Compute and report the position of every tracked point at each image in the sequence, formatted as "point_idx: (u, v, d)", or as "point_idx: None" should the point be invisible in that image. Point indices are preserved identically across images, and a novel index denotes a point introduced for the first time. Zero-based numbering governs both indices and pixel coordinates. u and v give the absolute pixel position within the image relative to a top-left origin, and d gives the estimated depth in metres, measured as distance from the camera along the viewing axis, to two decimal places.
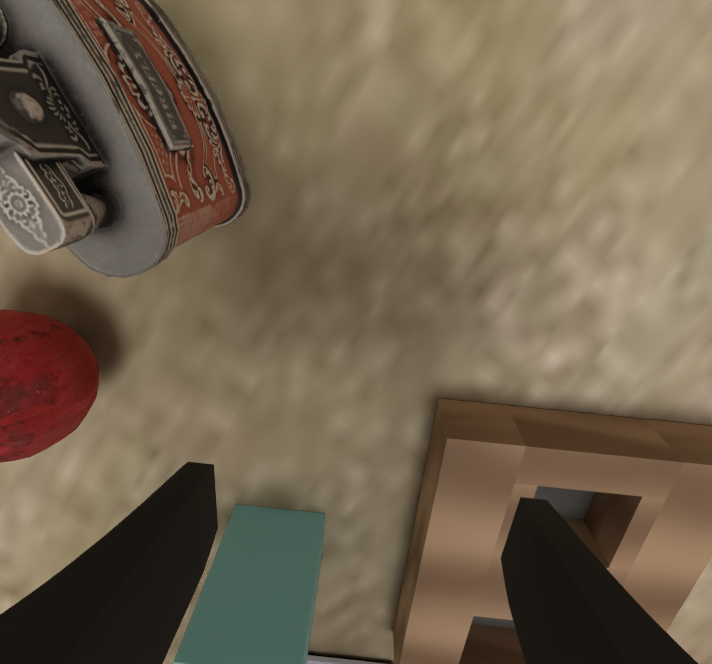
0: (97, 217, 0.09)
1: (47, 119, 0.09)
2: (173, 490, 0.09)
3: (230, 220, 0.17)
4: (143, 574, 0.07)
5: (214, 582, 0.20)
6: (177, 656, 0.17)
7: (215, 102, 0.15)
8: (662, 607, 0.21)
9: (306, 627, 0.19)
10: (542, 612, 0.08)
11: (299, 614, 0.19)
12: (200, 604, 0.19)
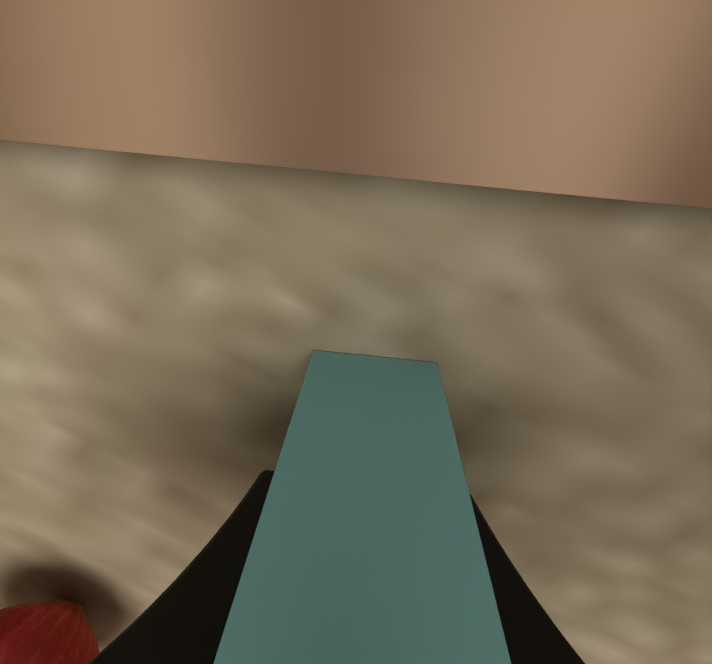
0: None
1: None
2: (260, 499, 0.09)
3: None
4: None
5: None
6: None
7: None
8: None
9: (256, 534, 0.07)
10: None
11: None
12: None
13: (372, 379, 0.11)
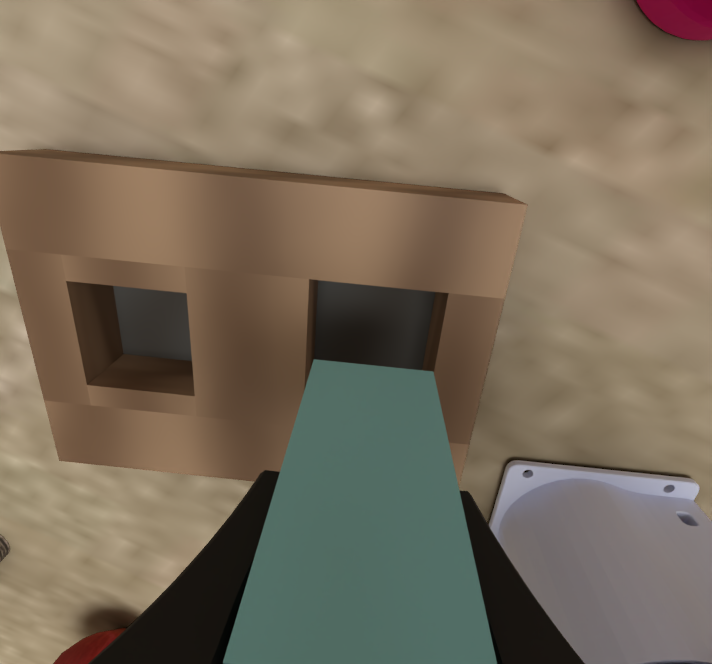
0: None
1: None
2: (260, 499, 0.09)
3: None
4: None
5: None
6: None
7: None
8: (248, 204, 0.15)
9: (260, 539, 0.07)
10: None
11: None
12: None
13: (370, 388, 0.11)
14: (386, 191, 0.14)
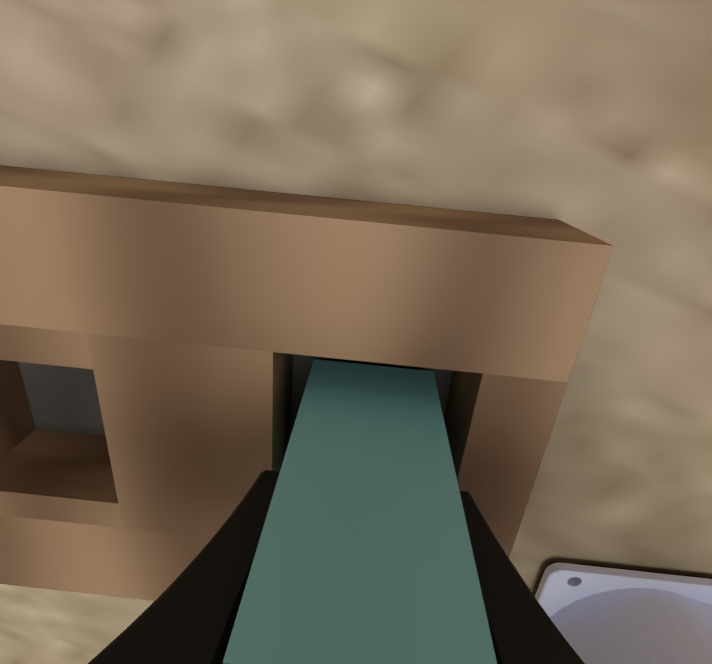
0: None
1: None
2: (260, 499, 0.09)
3: None
4: None
5: None
6: None
7: None
8: (175, 242, 0.09)
9: (260, 539, 0.07)
10: None
11: None
12: None
13: (370, 388, 0.11)
14: (389, 224, 0.09)
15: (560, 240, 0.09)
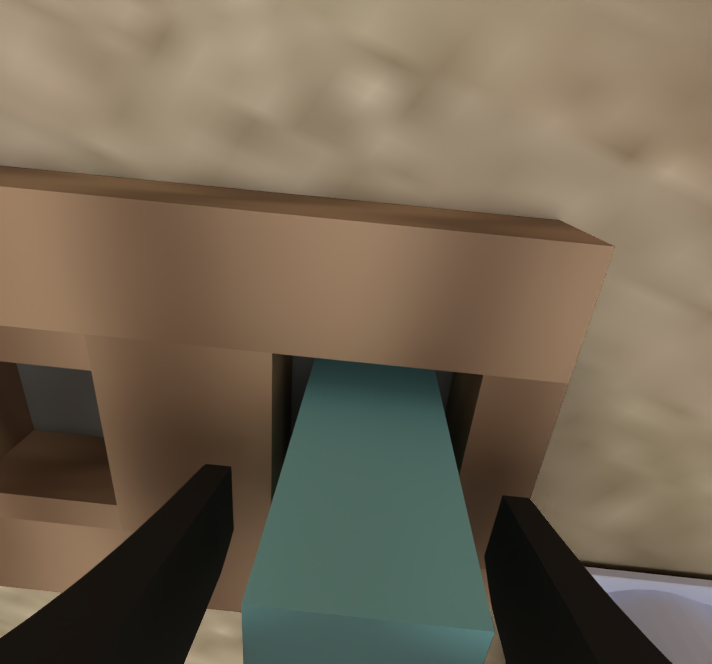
0: None
1: None
2: (193, 492, 0.09)
3: None
4: (167, 577, 0.07)
5: None
6: None
7: None
8: (173, 243, 0.09)
9: (272, 504, 0.08)
10: (521, 610, 0.08)
11: None
12: None
13: (372, 373, 0.12)
14: (389, 224, 0.09)
15: (561, 241, 0.09)
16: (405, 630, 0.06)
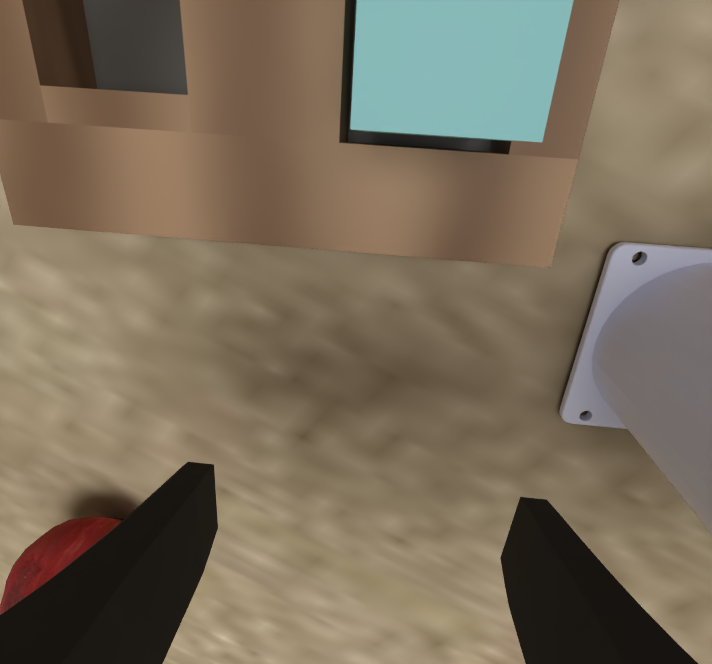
0: None
1: None
2: (173, 490, 0.09)
3: None
4: (143, 574, 0.07)
5: None
6: (351, 125, 0.08)
7: None
8: None
9: None
10: (542, 612, 0.08)
11: None
12: None
13: None
14: None
15: None
16: None
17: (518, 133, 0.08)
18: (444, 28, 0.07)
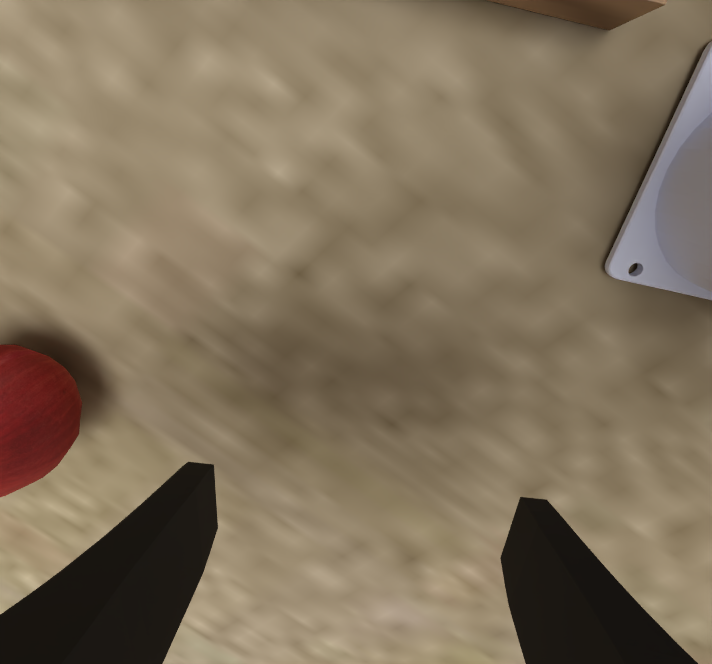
0: None
1: None
2: (173, 490, 0.09)
3: None
4: (143, 574, 0.07)
5: None
6: None
7: None
8: None
9: None
10: (542, 612, 0.08)
11: None
12: None
13: None
14: None
15: None
16: None
17: None
18: None
